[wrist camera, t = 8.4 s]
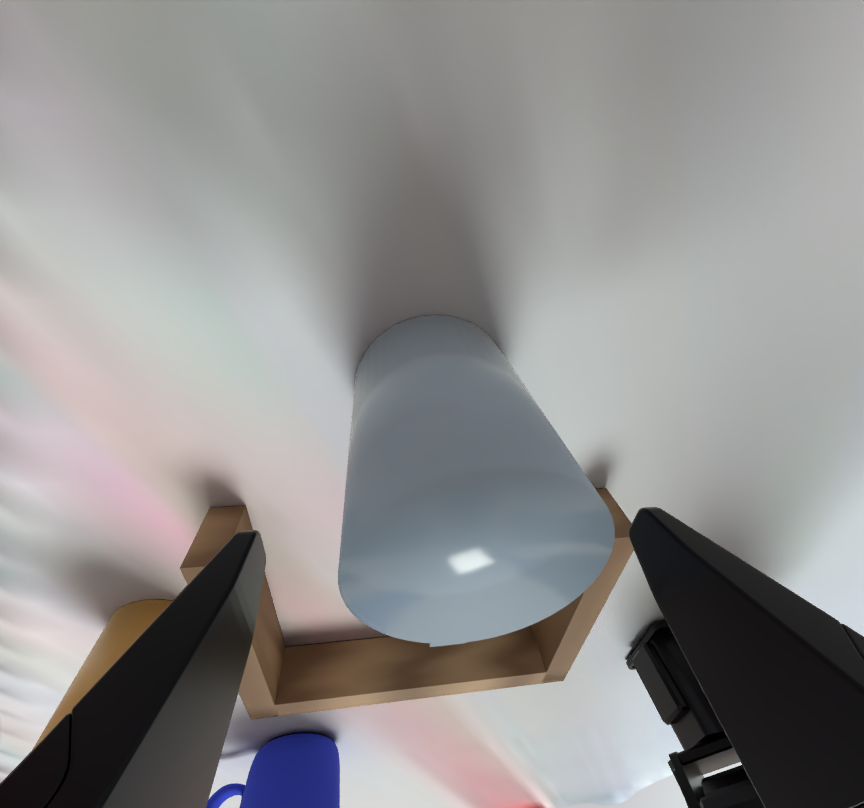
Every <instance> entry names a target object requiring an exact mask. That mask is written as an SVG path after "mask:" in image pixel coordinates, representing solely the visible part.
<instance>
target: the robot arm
mask: <svg viewBox="0 0 864 808" xmlns="http://www.w3.org/2000/svg"><path fill="white" fill-rule="evenodd" d="M629 538H630V541H631V543H632V546H633V548H634V551H635V553H636V555H637V558H638V560H639V562H640V565H641V567H642V570H643V572H644V574H645V577H646V579H647V582H648V584H649V586H650V589H651V591H652V593H653V596H654V598H655V600H656V602H657V604H658V606H659V608H660V610H661V612H662V614H663V616H664V617H665V619H666V621H659V622H656V623H654V624H653V625H652V626H651V627H650V628H649V630H648V631H647V633H646V634H645V636H644V637H643V639H642V640H641V642H640V643H639V644H638V646H637V647H636V649H635V650H634V652H633V653H632V655H631V656H630V657H629V659H628V660H627V662H626V664H627V666H628V668H629V669H630V670H633V669H636V670H637V672H638V674H639V676H640V678H641V680H642V682H643V684H644V685H645V687H646V689H647V691H648V693H649V695H650V697H651V699H652V701H653V703H654V705H655V707H656V709H657V710H658V712H659V714H660V716H661V718H662V720H663V721H664V722H665V723H666V724H667V725H670V724H671V726H672V728H673V730H674V732H675V734H676V735H677V737H678V739H679V741H680V743H681V745H682V747H683V749H684V751H682V752H679V753H678V752H674V753H671V754H669V757H670V759H671V760H670V761H669V762H668V764H669V766H670V768H671V770H672V772H673V774H674V776H675V778H676V780H677V782H678V784H679V786H680V788H681V791H682V793H683V795H684V797H685V800H686V803H687V806H688V808H864V637H863V636H862V635H860V634H859V633H857V632H855V631H854V630H852V629H851V628H849V627H848V626H846V625H844V624H840V622H839V621H838V620H836V619H835V618H833V617H832V616H830V615H828V614H827V613H825V612H824V611H822V610H820V609H819V608H817V607H816V606H814V605H812V604H811V603H809V602H808V601H806V600H805V599H803V598H801V597H800V596H798V595H797V594H795V593H793V592H792V591H790V590H789V589H787V588H786V587H784V586H782V585H781V584H779V583H778V582H776V581H774V580H773V579H771V578H770V577H768V576H767V575H765V574H763V573H762V572H760V571H759V570H757V569H755V568H754V567H752V566H751V565H749V564H747V563H746V562H744V561H743V560H741V559H740V558H738V557H736V556H735V555H733V554H732V553H730V552H728V551H727V550H725V549H724V548H722V547H721V546H719V545H717V544H716V543H714V542H713V541H711V540H709V539H708V538H706V537H705V536H703V535H702V534H700V533H698V532H697V531H695V530H694V529H692V528H690V527H689V526H687V525H686V524H684V523H682V522H681V521H679V520H678V519H676V518H675V517H673V516H671V515H670V514H668V513H667V512H665V511H663V510H662V509H660V508H657V507H648V508H641V509H640V510H639V511H638V513H637V515H636V517H635V519H634V521H633V523H632V525H631V527H630V529H629ZM265 565H266V554H265V550H264V546H263V542H262V539H261V535H260V533H259V532H258V531H257V530H251V531H240V532H238V533H236V534H235V535H234V536H233V537H232V538H231V539H230V540H229V541H228V542H227V543H226V544H225V546H224V547H223V548H222V549H221V550H220V551H219V552H218V553H217V554H216V555H215V556H214V557H213V558H212V559H211V561H210V562H209V563H208V564H207V565H206V566H205V567H204V568H203V569H202V570H201V571H200V572H199V573H198V574H197V576H196V577H195V578H194V579H193V580H192V581H191V582H190V583H189V584H188V585H187V586H186V587H185V588H184V589H183V590H182V592H181V593H180V594H179V595H178V596H177V597H176V598H175V599H174V600H173V601H172V602H171V603H170V604H169V605H168V607H167V608H166V609H165V610H164V611H163V612H162V613H161V614H160V615H159V616H158V617H157V618H156V619H155V620H154V621H153V623H152V624H151V625H150V626H149V627H148V628H147V629H146V630H145V631H144V632H143V633H142V634H141V635H140V636H139V638H138V639H137V640H136V641H135V642H134V643H133V644H132V645H131V646H130V647H129V648H128V649H127V650H126V651H125V652H124V654H123V655H122V656H121V657H120V658H119V659H118V660H117V661H116V662H115V663H114V664H113V665H112V666H111V667H110V669H109V670H108V671H107V672H106V673H105V674H104V675H103V676H102V677H101V678H100V679H99V680H98V681H97V682H96V683H95V685H94V686H93V687H92V688H91V689H90V690H89V691H88V692H87V693H86V694H85V695H84V696H83V697H82V698H81V700H80V701H79V702H78V703H77V704H76V705H75V706H74V707H73V708H72V711H71V713H69V714H66V715H65V716H64V717H63V719H62V720H61V721H60V722H59V723H58V724H57V725H56V726H55V727H54V728H53V729H52V730H51V731H50V732H49V733H48V735H47V736H46V737H45V738H44V739H43V740H42V741H41V742H40V743H39V744H38V745H37V746H36V747H35V748H34V749H33V750H32V751H31V752H30V753H29V754H28V755H27V757H26V758H25V759H24V760H23V761H22V762H21V763H20V764H19V765H18V766H17V767H16V768H15V769H14V770H13V771H12V772H11V773H10V774H9V775H8V776H7V777H6V778H5V779H4V780H3V781H2V782H1V783H0V808H206V806H207V802H208V799H209V795H210V792H211V788H212V784H213V781H214V777H215V774H216V770H217V767H218V763H219V759H220V756H221V752H222V749H223V745H224V741H225V738H226V734H227V731H228V727H229V724H230V720H231V716H232V713H233V709H234V706H235V702H236V699H237V695H238V691H239V688H240V684H241V681H242V677H243V673H244V670H245V666H246V663H247V659H248V656H249V652H250V648H251V644H252V640H253V635H254V630H255V625H256V619H257V613H258V607H259V601H260V595H261V589H262V583H263V577H264V571H265ZM738 762H741V763H742V765H741V766H738V767H735V768H732V769H729V770H727V771H724V772H721V773H718V774H715V775H712V776H709V777H706V778H704V777H703V774H707V773H709V772H712V771H715V770H718V769H721V768H724V767H727V766H729V765H732V764H735V763H738Z"/></svg>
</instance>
